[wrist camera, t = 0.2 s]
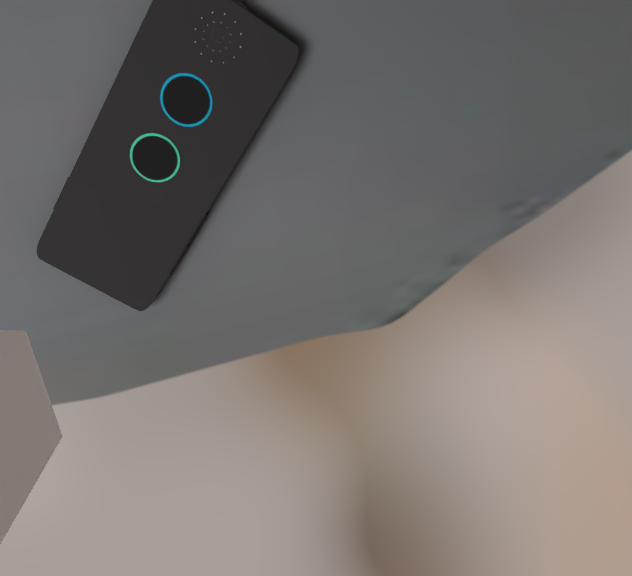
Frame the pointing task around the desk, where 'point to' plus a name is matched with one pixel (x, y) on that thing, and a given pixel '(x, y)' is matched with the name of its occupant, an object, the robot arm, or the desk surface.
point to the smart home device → (165, 144)
